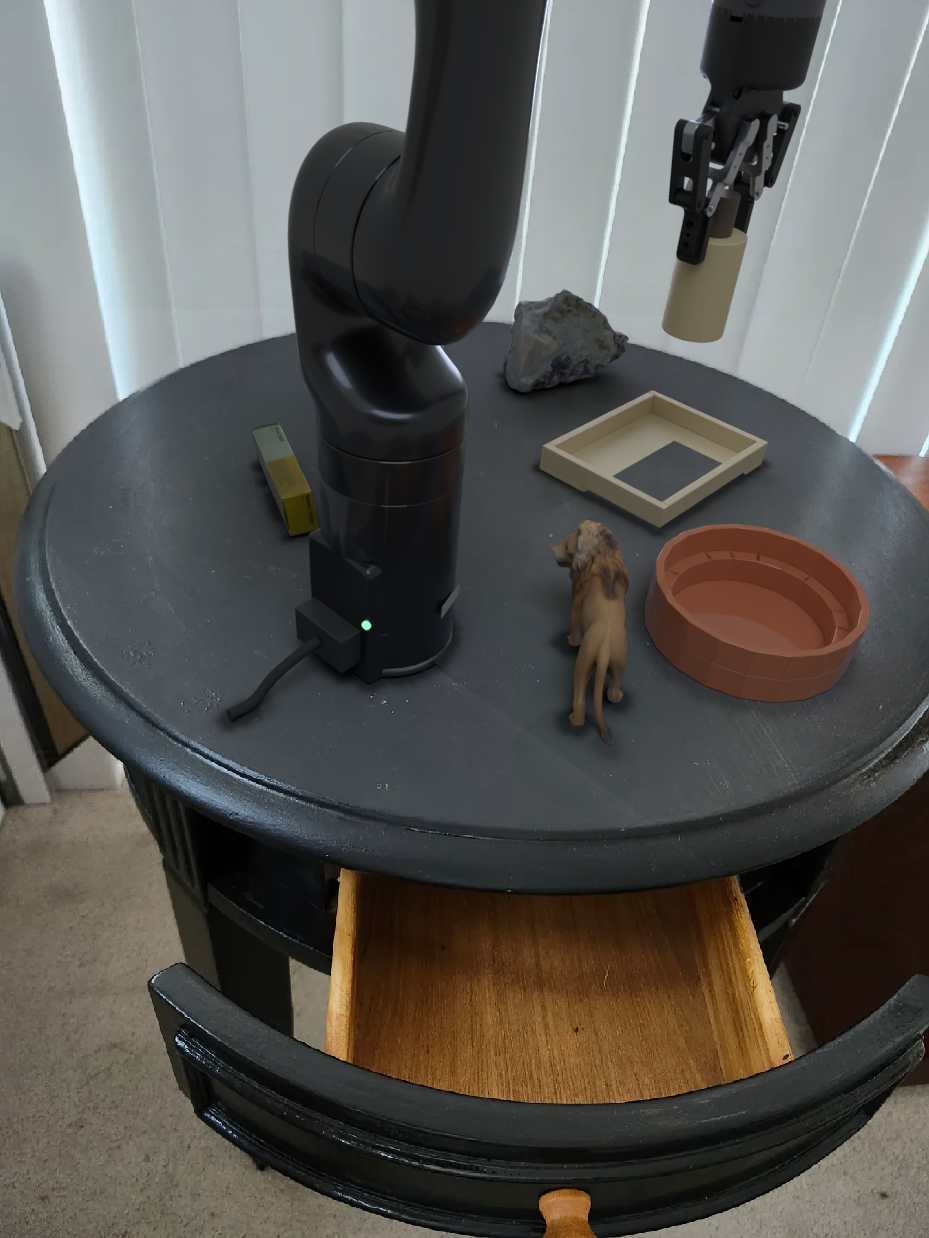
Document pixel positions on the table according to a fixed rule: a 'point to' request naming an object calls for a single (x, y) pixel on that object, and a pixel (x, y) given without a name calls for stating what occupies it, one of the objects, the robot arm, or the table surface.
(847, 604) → the bowl
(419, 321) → the robot arm
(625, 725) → the table surface
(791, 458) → the table surface
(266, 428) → the medication box
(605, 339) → the mineral rock
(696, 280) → the bottle
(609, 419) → the tray
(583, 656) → the lion figurine
